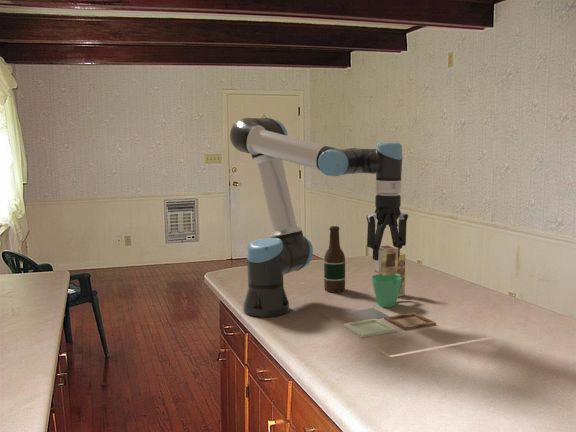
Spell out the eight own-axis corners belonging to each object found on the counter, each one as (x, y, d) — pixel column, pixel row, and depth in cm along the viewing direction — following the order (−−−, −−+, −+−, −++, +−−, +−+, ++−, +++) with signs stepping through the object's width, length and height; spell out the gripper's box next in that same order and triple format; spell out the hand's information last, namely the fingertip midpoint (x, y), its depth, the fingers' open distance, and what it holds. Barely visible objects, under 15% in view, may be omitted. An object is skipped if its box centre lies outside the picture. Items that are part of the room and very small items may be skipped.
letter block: (383, 275, 171) (384, 249, 169) (374, 271, 175) (375, 245, 174) (397, 274, 172) (398, 247, 171) (388, 270, 177) (389, 244, 176)
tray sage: (362, 338, 159) (362, 334, 159) (343, 327, 169) (343, 323, 169) (395, 333, 163) (395, 329, 163) (375, 322, 173) (375, 318, 173)
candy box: (405, 295, 202) (406, 253, 200) (397, 297, 200) (398, 255, 198) (386, 290, 209) (386, 250, 207) (378, 292, 206) (378, 251, 204)
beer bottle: (346, 292, 207) (345, 228, 204) (324, 293, 207) (324, 228, 204) (344, 287, 215) (344, 224, 212) (323, 287, 215) (323, 225, 212)
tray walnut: (404, 331, 164) (404, 327, 164) (384, 320, 174) (384, 317, 174) (435, 326, 168) (435, 322, 168) (414, 316, 178) (414, 312, 178)
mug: (393, 312, 182) (393, 282, 181) (366, 307, 188) (366, 278, 187) (412, 301, 194) (412, 273, 193) (386, 297, 200) (386, 269, 199)
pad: (361, 322, 173) (361, 320, 173) (346, 313, 182) (346, 311, 182) (389, 318, 177) (389, 316, 177) (373, 309, 186) (373, 307, 186)
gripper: (368, 196, 164) (366, 275, 167) (420, 194, 170) (417, 269, 174) (355, 194, 170) (353, 269, 174) (406, 191, 177) (403, 264, 181)
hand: (385, 269), depth 174 cm, fingers closed on letter block, 5 cm apart
